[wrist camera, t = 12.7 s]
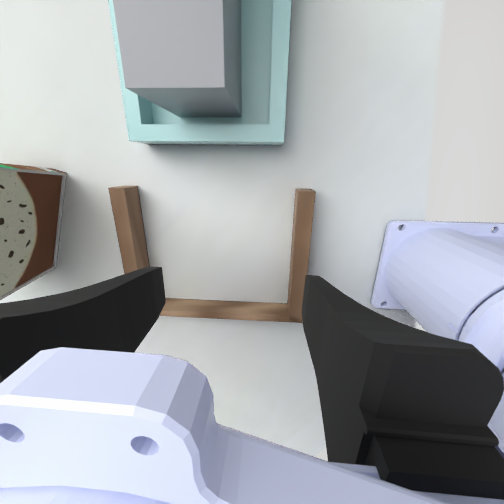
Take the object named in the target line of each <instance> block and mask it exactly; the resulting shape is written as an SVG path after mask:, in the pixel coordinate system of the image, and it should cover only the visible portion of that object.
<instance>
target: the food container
mask: <svg viewBox="0 0 504 504" xmlns="http://www.w3.org/2000/svg"><path fill="white" fill-rule="evenodd" d="M66 174H67V173H65V172H62V171H58V170H55V169H50V168H41V167H31V166H21V165H12V164H2V163H0V300H1V299H3V298H5V297H7V296H8V295H10V294H12V293H13V292H15V291H17V290H19V289H20V288H22V287H24V286H26V285H27V284H29V283H31V282H32V281H34V280H36V279H38V278H39V277H41V276H43V275H44V274H46V273H48V272H50V271H51V270H53V269H55V268H56V265H57V256H58V247H59V238H60V229H61V219H62V210H63V201H64V192H65V183H66Z"/></svg>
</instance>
